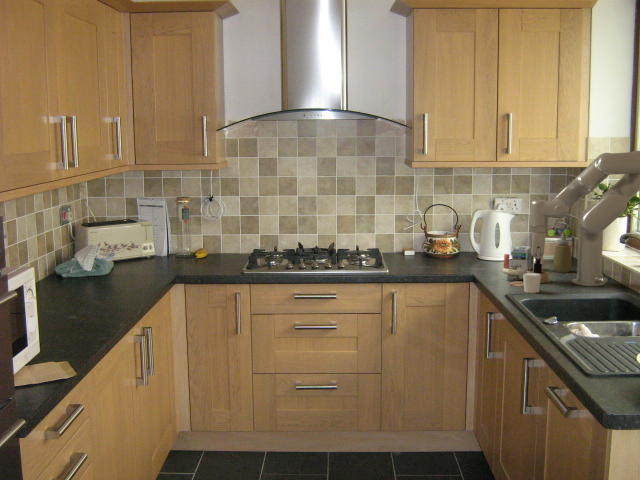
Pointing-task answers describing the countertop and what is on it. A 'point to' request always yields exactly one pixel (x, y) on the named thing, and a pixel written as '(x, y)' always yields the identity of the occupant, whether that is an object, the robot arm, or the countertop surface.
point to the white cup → (531, 282)
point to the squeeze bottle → (562, 255)
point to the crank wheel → (511, 267)
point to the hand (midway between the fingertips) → (537, 271)
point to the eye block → (543, 276)
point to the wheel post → (513, 277)
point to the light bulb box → (522, 257)
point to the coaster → (517, 284)
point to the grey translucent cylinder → (534, 262)
